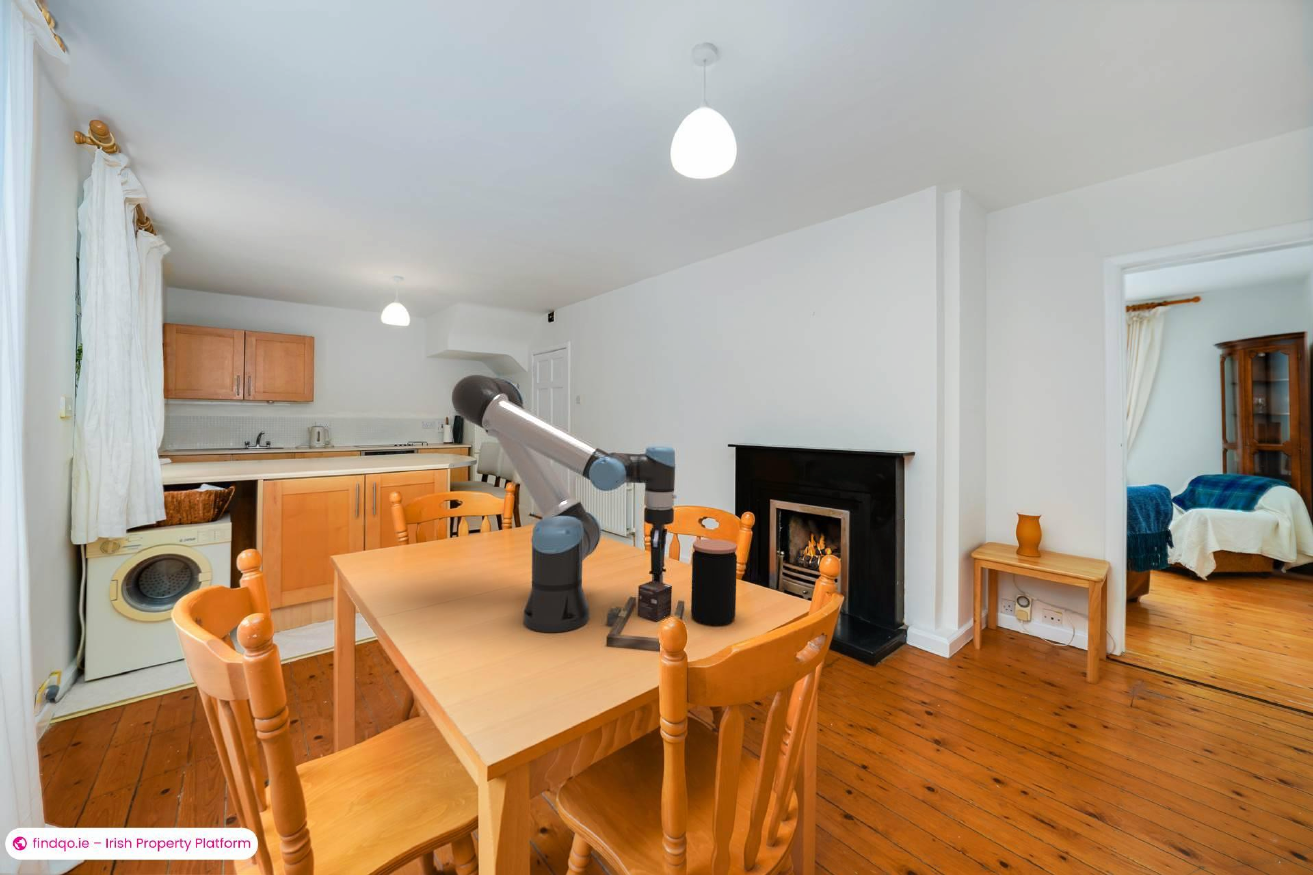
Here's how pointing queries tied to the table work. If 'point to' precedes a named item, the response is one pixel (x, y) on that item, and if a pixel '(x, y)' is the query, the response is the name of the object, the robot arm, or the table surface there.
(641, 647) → the brown angular bar frame
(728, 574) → the coffee jar
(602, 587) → the table surface
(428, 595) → the table surface
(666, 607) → the box
